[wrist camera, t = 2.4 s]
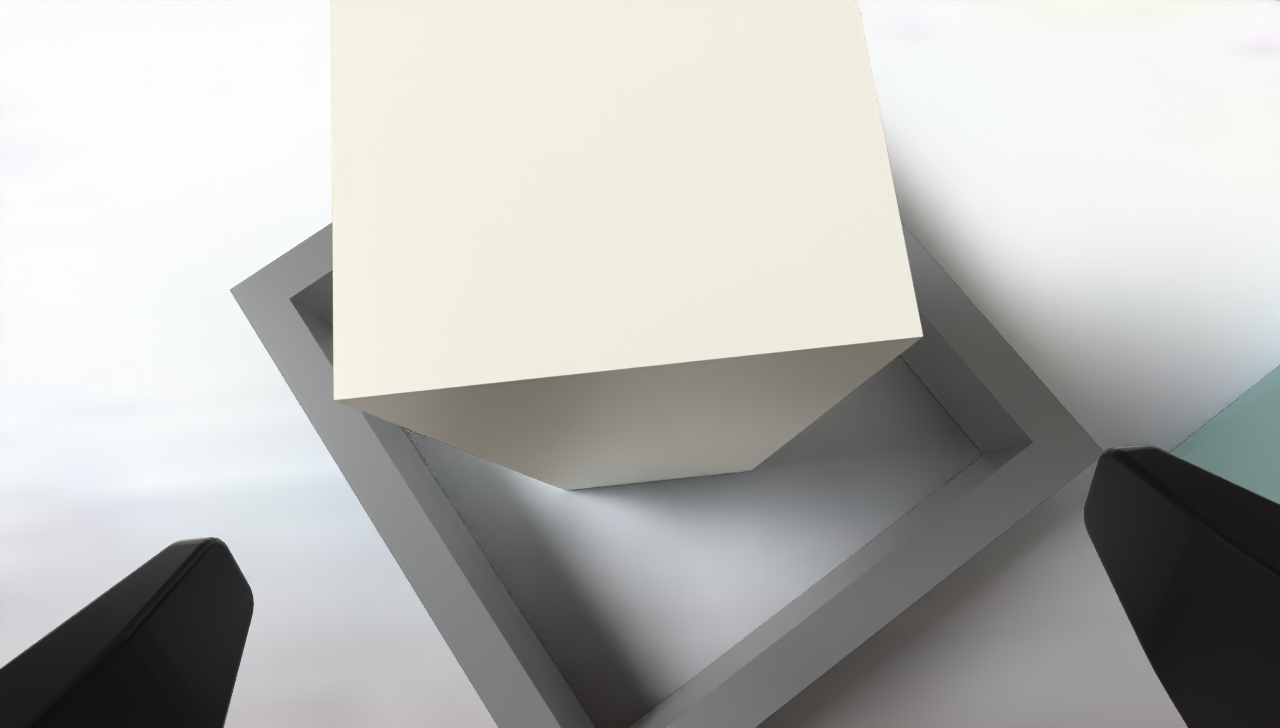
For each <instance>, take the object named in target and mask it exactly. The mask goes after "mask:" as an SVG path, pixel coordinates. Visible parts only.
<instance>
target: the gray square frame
mask: <svg viewBox="0 0 1280 728" xmlns="http://www.w3.org/2000/svg"><path fill="white" fill-rule="evenodd" d="M901 225H902V230H903V235H904V240H905V245H906V251H907V256H908V261H909V266H910V271H911V276H912V281H913V287H914V292H915V297H916V302H917V307H918V312H919V317H920V322H921V328H922V333H923V337H922V338H921V339H919V340H918V341H917V342H915V343H914V344H913V345H912V346H910V347H909V348H908V349H906V350H905V351H904V352H903V353H901V354H900V356H901V357H902V358H903V360H904V361H905V362H906V363H907V364H908V366H909V367H910V368H911V369H912V370H913V372H914V373H915V374H916V375H917V376H918V377H919V379H920V380H921V381H922V382H923V383H924V385H925V386H926V387H927V388H928V389H929V391H930V392H931V393H932V394H933V395H934V397H935V398H936V399H937V400H938V401H939V403H940V404H941V405H942V406H943V407H944V409H945V410H946V411H947V412H948V413H949V414H950V416H951V417H952V418H953V419H954V420H955V422H956V423H957V424H958V425H959V426H960V428H961V429H962V430H963V431H964V432H965V434H966V435H967V436H968V437H969V438H970V440H971V441H972V442H973V443H974V444H975V446H976V447H977V448H978V449H979V450H980V451H981V453H982V454H983V455H982V456H981V457H980V458H978V459H977V460H976V461H975V462H973V463H972V464H971V465H969V466H968V467H967V468H965V469H964V470H963V471H962V472H960V473H959V474H958V475H956V476H955V477H954V478H952V479H951V480H950V481H949V482H947V483H946V484H945V485H943V486H942V487H941V488H939V489H938V490H937V491H936V492H934V493H933V494H932V495H930V496H929V497H928V498H926V499H925V500H924V501H923V502H921V503H920V504H919V505H917V506H916V507H915V508H913V509H912V510H911V511H910V512H908V513H907V514H906V515H904V516H903V517H902V518H900V519H899V520H898V521H897V522H895V523H894V524H893V525H891V526H890V527H889V528H887V529H886V530H885V531H884V532H882V533H881V534H880V535H878V536H877V537H876V538H874V539H873V540H872V541H871V542H869V543H868V544H867V545H865V546H864V547H863V548H861V549H860V550H859V551H858V552H856V553H855V554H854V555H852V556H851V557H850V558H848V559H847V560H846V561H845V562H843V563H842V564H841V565H839V566H838V567H837V568H835V569H834V570H833V571H832V572H830V573H829V574H828V575H826V576H825V577H824V578H822V579H821V580H820V581H819V582H817V583H816V584H815V585H813V586H812V587H811V588H809V589H808V590H807V591H806V592H804V593H803V594H802V595H800V596H799V597H798V598H796V599H795V600H794V601H793V602H791V603H790V604H789V605H787V606H786V607H785V608H783V609H782V610H781V611H780V612H778V613H777V614H776V615H774V616H773V617H772V618H770V619H769V620H768V621H767V622H765V623H764V624H763V625H761V626H760V627H759V628H757V629H756V630H755V631H754V632H752V633H751V634H750V635H748V636H747V637H746V638H744V639H743V640H742V641H741V642H739V643H738V644H737V645H735V646H734V647H733V648H731V649H730V650H729V651H728V652H726V653H725V654H724V655H722V656H721V657H720V658H718V659H717V660H716V661H715V662H713V663H712V664H711V665H709V666H708V667H707V668H705V669H704V670H703V671H702V672H700V673H699V674H698V675H696V676H695V677H694V678H692V679H691V680H690V681H689V682H687V683H686V684H685V685H683V686H682V687H681V688H679V689H678V690H677V691H676V692H674V693H673V694H672V695H670V696H669V697H668V698H666V699H665V700H664V701H663V702H661V703H660V704H659V705H657V706H656V707H655V708H653V709H652V710H651V711H650V712H648V713H647V714H646V715H644V716H643V717H642V718H640V719H639V720H638V721H637V722H635V723H634V724H633V725H631V726H630V727H629V728H755V727H757V726H758V725H759V724H760V723H762V722H763V721H764V720H765V719H767V718H768V717H769V716H771V715H772V714H773V713H774V712H776V711H777V710H778V709H779V708H781V707H782V706H783V705H785V704H786V703H787V702H788V701H790V700H791V699H792V698H793V697H795V696H796V695H797V694H799V693H800V692H801V691H802V690H804V689H805V688H806V687H807V686H809V685H810V684H811V683H813V682H814V681H815V680H816V679H818V678H819V677H820V676H821V675H823V674H824V673H825V672H827V671H828V670H829V669H830V668H832V667H833V666H834V665H836V664H837V663H838V662H839V661H841V660H842V659H843V658H844V657H846V656H847V655H848V654H850V653H851V652H852V651H853V650H855V649H856V648H857V647H858V646H860V645H861V644H862V643H864V642H865V641H866V640H867V639H869V638H870V637H871V636H872V635H874V634H875V633H876V632H878V631H879V630H880V629H881V628H883V627H884V626H885V625H886V624H888V623H889V622H890V621H892V620H893V619H894V618H895V617H897V616H898V615H899V614H900V613H902V612H903V611H904V610H906V609H907V608H908V607H909V606H911V605H912V604H913V603H914V602H916V601H917V600H918V599H920V598H921V597H922V596H923V595H925V594H926V593H927V592H928V591H930V590H931V589H932V588H934V587H935V586H936V585H937V584H939V583H940V582H941V581H942V580H944V579H945V578H946V577H948V576H949V575H950V574H951V573H953V572H954V571H955V570H957V569H958V568H959V567H960V566H962V565H963V564H964V563H965V562H967V561H968V560H969V559H971V558H972V557H973V556H974V555H976V554H977V553H978V552H979V551H981V550H982V549H983V548H985V547H986V546H987V545H988V544H990V543H991V542H992V541H993V540H995V539H996V538H997V537H999V536H1000V535H1001V534H1002V533H1004V532H1005V531H1006V530H1007V529H1009V528H1010V527H1011V526H1013V525H1014V524H1015V523H1016V522H1018V521H1019V520H1020V519H1021V518H1023V517H1024V516H1025V515H1027V514H1028V513H1029V512H1030V511H1032V510H1033V509H1034V508H1035V507H1037V506H1038V505H1039V504H1041V503H1042V502H1043V501H1044V500H1046V499H1047V498H1048V497H1049V496H1051V495H1052V494H1053V493H1055V492H1056V491H1057V490H1058V489H1060V488H1061V487H1062V486H1063V485H1065V484H1066V483H1067V482H1069V481H1070V480H1071V479H1072V478H1074V477H1075V476H1076V475H1078V474H1079V473H1080V472H1081V471H1083V470H1084V469H1085V468H1086V467H1088V466H1089V465H1090V464H1092V463H1093V462H1094V461H1095V460H1097V459H1098V458H1099V457H1100V456H1101V455H1102V454H1103V453H1104V452H1103V451H1102V450H1101V448H1100V447H1099V446H1098V445H1097V444H1096V443H1095V442H1094V440H1093V439H1092V438H1091V437H1090V436H1089V435H1088V434H1087V432H1086V431H1085V430H1084V429H1083V428H1082V427H1081V426H1080V425H1079V423H1078V422H1077V421H1076V420H1075V419H1074V418H1073V417H1072V415H1071V414H1070V413H1069V412H1068V411H1067V410H1066V409H1065V407H1064V406H1063V405H1062V404H1061V403H1060V402H1059V401H1058V400H1057V398H1056V397H1055V396H1054V395H1053V394H1052V393H1051V392H1050V390H1049V389H1048V388H1047V387H1046V386H1045V385H1044V384H1043V382H1042V381H1041V380H1040V379H1039V378H1038V377H1037V376H1036V375H1035V373H1034V372H1033V371H1032V370H1031V369H1030V368H1029V367H1028V365H1027V364H1026V363H1025V362H1024V361H1023V360H1022V359H1021V357H1020V356H1019V355H1018V354H1017V353H1016V352H1015V351H1014V350H1013V348H1012V347H1011V346H1010V345H1009V344H1008V343H1007V342H1006V340H1005V339H1004V338H1003V337H1002V336H1001V335H1000V334H999V332H998V331H997V330H996V329H995V328H994V327H993V326H992V325H991V323H990V322H989V321H988V320H987V319H986V318H985V317H984V315H983V314H982V313H981V312H980V311H979V310H978V309H977V308H976V306H975V305H974V304H973V303H972V302H971V301H970V300H969V298H968V297H967V296H966V295H965V294H964V293H963V292H962V290H961V289H960V288H959V287H958V286H957V285H956V284H955V283H954V281H953V280H952V279H951V278H950V277H949V276H948V275H947V273H946V272H945V271H944V270H943V269H942V268H941V267H940V265H939V264H938V263H937V262H936V261H935V260H934V259H933V258H932V256H931V255H930V254H929V253H928V252H927V251H926V250H925V248H924V247H923V246H922V245H921V244H920V243H919V242H918V240H917V239H916V238H915V237H914V236H913V235H912V234H911V233H910V231H909V230H908V229H907V228H906V227H905V226H904V225H903V223H902V222H901ZM230 291H231V293H232V294H233V296H234V298H235V299H236V301H237V303H238V304H239V306H240V307H241V309H242V311H243V312H244V314H245V316H246V317H247V319H248V321H249V322H250V324H251V325H252V327H253V329H254V330H255V332H256V334H257V335H258V337H259V338H260V340H261V342H262V343H263V345H264V347H265V348H266V350H267V351H268V353H269V355H270V356H271V358H272V360H273V361H274V363H275V364H276V366H277V368H278V369H279V371H280V373H281V374H282V376H283V377H284V379H285V381H286V382H287V384H288V386H289V387H290V389H291V391H292V392H293V394H294V395H295V397H296V399H297V400H298V402H299V404H300V405H301V407H302V408H303V410H304V412H305V413H306V415H307V417H308V418H309V420H310V421H311V423H312V425H313V426H314V428H315V430H316V431H317V433H318V434H319V436H320V438H321V439H322V441H323V443H324V444H325V446H326V447H327V449H328V451H329V452H330V454H331V456H332V457H333V459H334V460H335V462H336V464H337V465H338V467H339V469H340V470H341V472H342V474H343V475H344V477H345V478H346V480H347V482H348V483H349V485H350V487H351V488H352V490H353V491H354V493H355V495H356V496H357V498H358V500H359V501H360V503H361V504H362V506H363V508H364V509H365V511H366V513H367V514H368V516H369V517H370V519H371V521H372V522H373V524H374V526H375V527H376V529H377V530H378V532H379V534H380V535H381V537H382V539H383V540H384V542H385V544H386V545H387V547H388V548H389V550H390V552H391V553H392V555H393V557H394V558H395V560H396V561H397V563H398V565H399V566H400V568H401V570H402V571H403V573H404V574H405V576H406V578H407V579H408V581H409V583H410V584H411V586H412V587H413V589H414V591H415V592H416V594H417V596H418V597H419V599H420V600H421V602H422V604H423V605H424V607H425V609H426V610H427V612H428V614H429V615H430V617H431V618H432V620H433V622H434V623H435V625H436V627H437V628H438V630H439V631H440V633H441V635H442V636H443V638H444V640H445V641H446V643H447V644H448V646H449V648H450V649H451V651H452V653H453V654H454V656H455V657H456V659H457V661H458V662H459V664H460V666H461V667H462V669H463V670H464V672H465V674H466V675H467V677H468V679H469V680H470V682H471V684H472V685H473V687H474V688H475V690H476V692H477V693H478V695H479V697H480V698H481V700H482V701H483V703H484V705H485V706H486V708H487V710H488V711H489V713H490V714H491V716H492V718H493V719H494V721H495V723H496V724H497V726H498V727H499V728H596V727H595V726H594V724H593V723H592V721H591V719H590V718H589V716H588V715H587V713H586V712H585V710H584V709H583V707H582V705H581V704H580V702H579V701H578V699H577V698H576V696H575V695H574V693H573V691H572V690H571V688H570V687H569V685H568V684H567V682H566V681H565V679H564V678H563V676H562V674H561V673H560V671H559V670H558V668H557V667H556V665H555V664H554V662H553V660H552V659H551V657H550V656H549V654H548V653H547V651H546V650H545V648H544V647H543V645H542V643H541V642H540V640H539V639H538V637H537V636H536V634H535V633H534V631H533V629H532V628H531V626H530V625H529V623H528V622H527V620H526V619H525V617H524V616H523V614H522V612H521V611H520V609H519V608H518V606H517V605H516V603H515V602H514V600H513V598H512V597H511V595H510V594H509V592H508V591H507V589H506V588H505V586H504V584H503V583H502V581H501V580H500V578H499V577H498V575H497V574H496V572H495V571H494V569H493V567H492V566H491V564H490V563H489V561H488V560H487V558H486V557H485V555H484V553H483V552H482V550H481V549H480V547H479V546H478V544H477V543H476V541H475V540H474V538H473V536H472V535H471V533H470V532H469V530H468V529H467V527H466V526H465V524H464V522H463V521H462V519H461V518H460V516H459V515H458V513H457V512H456V510H455V508H454V507H453V505H452V504H451V502H450V501H449V499H448V498H447V496H446V495H445V493H444V491H443V490H442V488H441V487H440V485H439V484H438V482H437V481H436V479H435V477H434V476H433V474H432V473H431V471H430V470H429V468H428V467H427V465H426V464H425V462H424V460H423V459H422V457H421V456H420V454H419V453H418V451H417V450H416V448H415V446H414V445H413V443H412V442H411V440H410V439H409V437H408V436H407V434H406V432H405V431H404V429H403V428H402V427H401V426H399V425H396V424H394V423H391V422H389V421H386V420H383V419H381V418H378V417H376V416H373V415H371V414H368V413H365V412H363V411H360V410H358V409H355V408H353V407H350V406H347V405H345V404H342V403H340V402H337V401H335V400H334V373H333V225H332V223H331V224H329V225H328V226H326V227H325V228H323V229H322V230H320V231H318V232H317V233H315V234H314V235H312V236H311V237H309V238H308V239H306V240H305V241H303V242H302V243H300V244H299V245H297V246H296V247H294V248H293V249H291V250H290V251H288V252H287V253H285V254H284V255H282V256H281V257H279V258H277V259H276V260H274V261H273V262H271V263H270V264H268V265H267V266H265V267H264V268H262V269H261V270H259V271H258V272H256V273H255V274H253V275H252V276H250V277H249V278H247V279H246V280H244V281H243V282H241V283H239V284H238V285H236V286H235V287H233V288H232V289H230Z"/></svg>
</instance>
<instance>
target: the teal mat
mask: <svg viewBox="0 0 1280 728" xmlns="http://www.w3.org/2000/svg"><path fill="white" fill-rule="evenodd" d="M1170 454H1172V455H1175V456H1177V457H1179V458H1181V459H1183V460H1185V461H1188V462H1190V463H1192V464H1194V465H1196V466H1198V467H1201V468H1203V469H1205V470H1207V471H1209V472H1211V473H1214V474H1216V475H1218V476H1220V477H1222V478H1224V479H1227V480H1229V481H1231V482H1233V483H1235V484H1237V485H1239V486H1242V487H1244V488H1246V489H1248V490H1250V491H1252V492H1255V493H1257V494H1259V495H1261V496H1263V497H1265V498H1268V499H1270V500H1272V501H1274V502H1276V503H1278V504H1280V366H1278V367H1277V368H1276V369H1275V370H1273V371H1272V372H1271V373H1270V374H1268V375H1267V376H1266V377H1265V378H1263V379H1262V380H1261V381H1260V382H1258V383H1257V384H1256V385H1254V386H1253V387H1252V388H1251V389H1249V390H1248V391H1247V392H1246V393H1244V394H1243V395H1242V396H1241V397H1239V398H1238V399H1237V400H1236V401H1234V402H1233V403H1232V404H1231V405H1229V406H1228V407H1227V408H1226V409H1224V410H1223V411H1222V412H1220V413H1219V414H1218V415H1217V416H1215V417H1214V418H1213V419H1212V420H1210V421H1209V422H1208V423H1207V424H1205V425H1204V426H1203V427H1202V428H1200V429H1199V430H1198V431H1197V432H1195V433H1194V434H1193V435H1192V436H1190V437H1189V438H1188V439H1186V440H1185V441H1184V442H1183V443H1181V444H1180V445H1179V446H1178V447H1176V448H1175V449H1174V450H1173V451H1171V452H1170Z"/></svg>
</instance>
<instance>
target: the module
mask: <svg viewBox="0 0 1280 728" xmlns="http://www.w3.org/2000/svg"><path fill="white" fill-rule="evenodd" d="M331 78H332V225H333V373H334V400H335V401H337V402H340V403H342V404H345V405H347V406H350V407H353V408H355V409H358V410H360V411H363V412H365V413H368V414H371V415H373V416H376V417H378V418H381V419H383V420H386V421H389V422H391V423H394V424H396V425H399V426H401V427H404V428H407V429H409V430H412V431H414V432H417V433H419V434H422V435H425V436H427V437H430V438H432V439H435V440H437V441H440V442H443V443H445V444H448V445H450V446H453V447H455V448H458V449H460V450H463V451H466V452H468V453H471V454H473V455H476V456H478V457H481V458H484V459H486V460H489V461H491V462H494V463H496V464H499V465H502V466H504V467H507V468H509V469H512V470H514V471H517V472H520V473H522V474H525V475H527V476H530V477H532V478H535V479H538V480H540V481H543V482H545V483H548V484H550V485H553V486H556V487H558V488H561V489H563V490H574V489H583V488H593V487H602V486H612V485H621V484H631V483H640V482H650V481H659V480H669V479H678V478H688V477H697V476H707V475H716V474H726V473H736V472H745V471H752V470H753V469H754V468H755V467H757V466H758V465H759V464H761V463H762V462H763V461H764V460H766V459H767V458H768V457H770V456H771V455H772V454H773V453H775V452H776V451H777V450H778V449H780V448H781V447H782V446H784V445H785V444H786V443H787V442H789V441H790V440H791V439H793V438H794V437H795V436H796V435H798V434H799V433H800V432H802V431H803V430H804V429H805V428H807V427H808V426H809V425H810V424H812V423H813V422H814V421H816V420H817V419H818V418H819V417H821V416H822V415H823V414H825V413H826V412H827V411H828V410H830V409H831V408H832V407H834V406H835V405H836V404H837V403H839V402H840V401H841V400H842V399H844V398H845V397H846V396H848V395H849V394H850V393H851V392H853V391H854V390H855V389H857V388H858V387H859V386H860V385H862V384H863V383H864V382H866V381H867V380H868V379H869V378H871V377H872V376H873V375H874V374H876V373H877V372H878V371H880V370H881V369H882V368H883V367H885V366H886V365H887V364H889V363H890V362H891V361H892V360H894V359H895V358H896V357H898V356H899V355H900V354H901V353H903V352H904V351H905V350H906V349H908V348H909V347H910V346H912V345H913V344H914V343H915V342H917V341H918V340H919V339H921V338H922V337H923V333H922V328H921V322H920V317H919V312H918V307H917V302H916V297H915V292H914V287H913V281H912V276H911V271H910V266H909V261H908V256H907V251H906V245H905V240H904V235H903V230H902V225H901V220H900V215H899V209H898V204H897V199H896V194H895V189H894V184H893V179H892V174H891V168H890V163H889V158H888V153H887V148H886V143H885V138H884V132H883V127H882V122H881V117H880V112H879V107H878V102H877V97H876V91H875V86H874V81H873V76H872V71H871V66H870V61H869V55H868V50H867V45H866V40H865V35H864V30H863V25H862V19H861V14H860V9H859V4H858V0H331Z"/></svg>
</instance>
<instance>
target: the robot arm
mask: <svg viewBox="0 0 1280 728" xmlns="http://www.w3.org/2000/svg"><path fill="white" fill-rule="evenodd" d="M1084 521H1085V526H1086V529H1087V532H1088V534H1089V536H1090V539H1091V541H1092V543H1093V545H1094V547H1095V549H1096V551H1097V553H1098V555H1099V557H1100V560H1101V562H1102V564H1103V566H1104V568H1105V570H1106V572H1107V574H1108V576H1109V579H1110V581H1111V583H1112V585H1113V587H1114V589H1115V591H1116V593H1117V595H1118V597H1119V600H1120V602H1121V604H1122V606H1123V608H1124V610H1125V612H1126V614H1127V616H1128V618H1129V621H1130V623H1131V625H1132V627H1133V629H1134V631H1135V633H1136V635H1137V637H1138V640H1139V642H1140V644H1141V646H1142V648H1143V650H1144V652H1145V654H1146V656H1147V658H1148V660H1149V661H1150V663H1151V665H1152V667H1153V669H1154V671H1155V673H1156V675H1157V676H1158V678H1159V680H1160V681H1161V683H1162V685H1163V687H1164V688H1165V690H1166V692H1167V694H1168V695H1169V697H1170V699H1171V700H1172V702H1173V704H1174V705H1175V707H1176V708H1177V710H1178V712H1179V713H1180V715H1181V717H1182V718H1183V720H1184V722H1185V723H1186V725H1187V727H1188V728H1280V504H1278V503H1276V502H1274V501H1272V500H1270V499H1268V498H1265V497H1263V496H1261V495H1259V494H1257V493H1255V492H1252V491H1250V490H1248V489H1246V488H1244V487H1242V486H1239V485H1237V484H1235V483H1233V482H1231V481H1229V480H1227V479H1224V478H1222V477H1220V476H1218V475H1216V474H1214V473H1211V472H1209V471H1207V470H1205V469H1203V468H1201V467H1198V466H1196V465H1194V464H1192V463H1190V462H1188V461H1185V460H1183V459H1181V458H1179V457H1177V456H1175V455H1172V454H1170V453H1168V452H1166V451H1164V450H1162V449H1159V448H1157V447H1155V446H1151V445H1134V446H1124V447H1114V448H1110V449H1107V450H1106V451H1105V452H1104V453H1103V454H1102V455H1101V456H1100V458H1099V460H1098V463H1097V467H1096V470H1095V473H1094V477H1093V480H1092V483H1091V486H1090V490H1089V493H1088V496H1087V500H1086V503H1085V507H1084ZM253 606H254V601H253V594H252V590H251V588H250V586H249V584H248V582H247V580H246V579H245V577H244V575H243V573H242V572H241V570H240V568H239V566H238V564H237V563H236V561H235V559H234V557H233V555H232V554H231V552H230V550H229V548H228V547H227V545H226V544H225V543H224V542H223V541H221V540H220V539H218V538H213V537H209V538H199V539H189V540H182V541H178V542H175V543H173V544H171V545H170V546H168V547H167V548H165V549H164V550H163V551H161V552H160V553H159V554H157V555H156V556H154V557H153V558H152V559H150V560H149V561H148V562H146V563H145V564H143V565H142V566H141V567H139V568H138V569H137V570H135V571H134V572H132V573H131V574H130V575H128V576H127V577H126V578H124V579H123V580H121V581H120V582H119V583H117V584H116V585H115V586H113V587H112V588H110V589H109V590H108V591H106V592H105V593H104V594H102V595H101V596H99V597H98V598H97V599H95V600H94V601H93V602H91V603H90V604H88V605H87V606H86V607H84V608H83V609H82V610H80V611H79V612H77V613H76V614H75V615H73V616H72V617H71V618H69V619H68V620H66V621H65V622H64V623H62V624H61V625H60V626H58V627H57V628H55V629H54V630H53V631H51V632H50V633H49V634H47V635H46V636H45V637H43V638H42V639H40V640H39V641H38V642H36V643H35V644H34V645H32V646H31V647H29V648H28V649H27V650H25V651H24V652H23V653H21V654H20V655H18V656H17V657H16V658H14V659H13V660H12V661H10V662H9V663H7V664H6V665H5V666H3V667H2V668H1V669H0V728H224V724H225V720H226V716H227V712H228V709H229V705H230V701H231V697H232V693H233V689H234V685H235V681H236V677H237V673H238V669H239V666H240V662H241V658H242V654H243V650H244V646H245V642H246V638H247V634H248V630H249V626H250V623H251V619H252V614H253Z"/></svg>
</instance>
